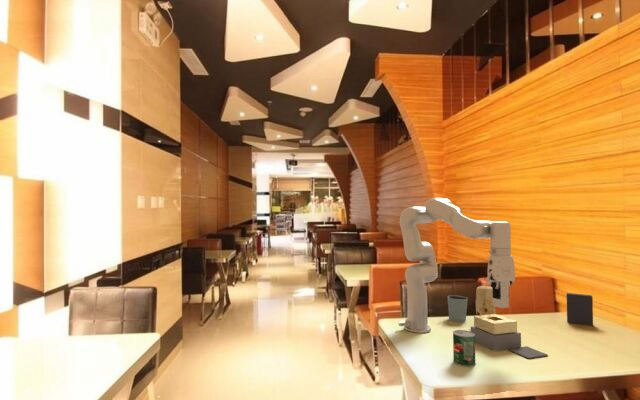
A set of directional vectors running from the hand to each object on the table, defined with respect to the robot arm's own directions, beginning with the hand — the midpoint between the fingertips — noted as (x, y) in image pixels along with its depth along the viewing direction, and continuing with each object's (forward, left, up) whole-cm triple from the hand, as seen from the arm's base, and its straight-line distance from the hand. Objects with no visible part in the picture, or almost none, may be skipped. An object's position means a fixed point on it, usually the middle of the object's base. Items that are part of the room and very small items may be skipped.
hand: (500, 297), depth 150 cm
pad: (+12, -1, -23) cm, 26 cm away
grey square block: (+8, +12, -23) cm, 27 cm away
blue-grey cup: (+17, +48, -23) cm, 56 cm away
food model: (+23, +34, -23) cm, 47 cm away
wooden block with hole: (+9, +12, -17) cm, 22 cm away
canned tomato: (-19, -1, -23) cm, 30 cm away
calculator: (+73, +23, -23) cm, 80 cm away
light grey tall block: (0, 0, -4) cm, 4 cm away
